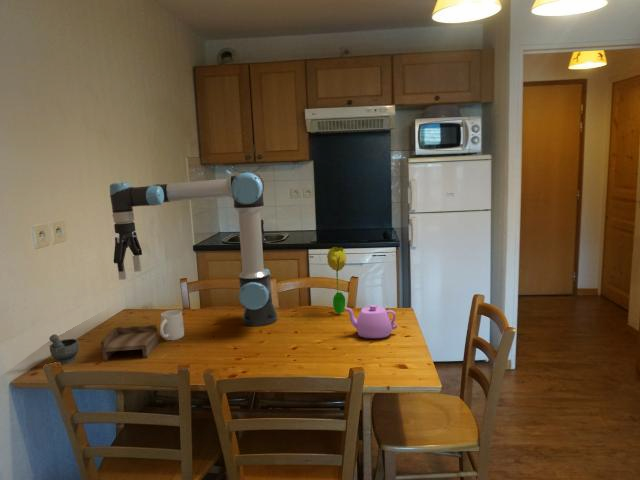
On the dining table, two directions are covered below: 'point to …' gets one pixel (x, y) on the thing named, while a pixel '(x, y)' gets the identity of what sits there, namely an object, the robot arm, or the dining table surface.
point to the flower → (337, 263)
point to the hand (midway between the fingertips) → (130, 275)
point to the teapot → (373, 322)
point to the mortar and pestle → (64, 349)
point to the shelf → (130, 340)
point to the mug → (172, 325)
